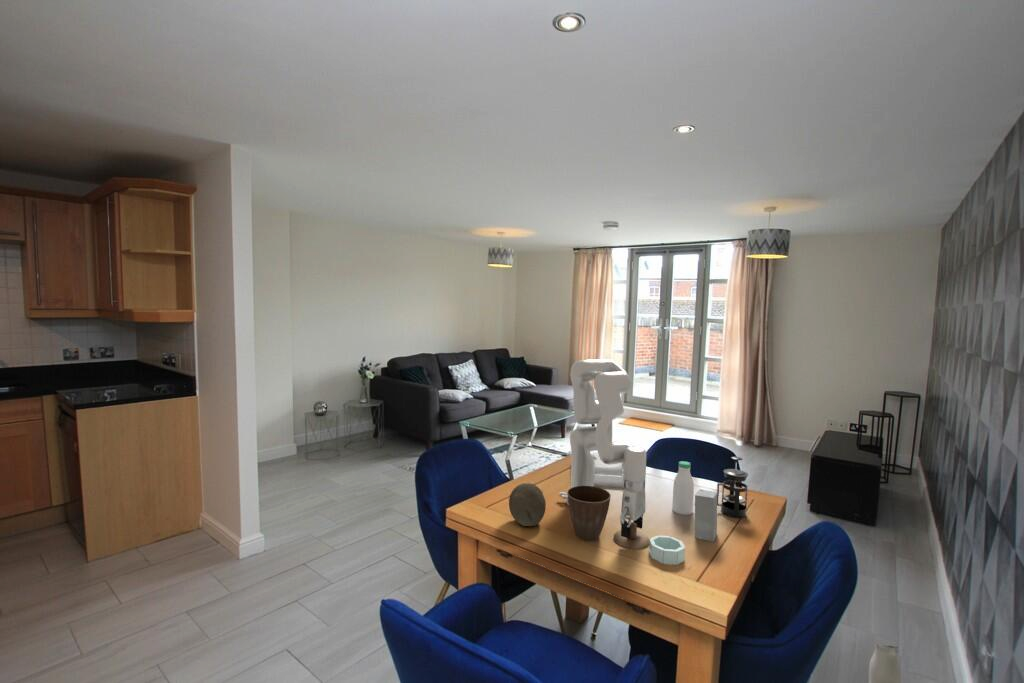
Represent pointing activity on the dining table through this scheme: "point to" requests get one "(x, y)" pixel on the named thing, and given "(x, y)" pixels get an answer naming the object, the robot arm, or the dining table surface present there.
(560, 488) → the dining table surface
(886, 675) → the glass bottle
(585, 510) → the plant pot
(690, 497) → the milk bottle
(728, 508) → the french press
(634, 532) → the lid
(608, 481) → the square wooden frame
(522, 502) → the grey stone egg
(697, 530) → the skincare box
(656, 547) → the bowl
